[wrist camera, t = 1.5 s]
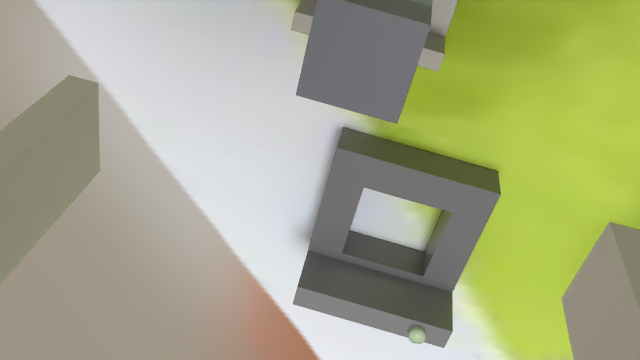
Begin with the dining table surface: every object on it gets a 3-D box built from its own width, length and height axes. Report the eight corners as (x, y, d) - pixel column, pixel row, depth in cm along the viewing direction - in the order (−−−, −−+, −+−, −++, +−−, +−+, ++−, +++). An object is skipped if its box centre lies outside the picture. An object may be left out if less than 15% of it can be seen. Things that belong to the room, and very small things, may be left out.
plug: (359, -78, 31) (318, -7, 21) (436, -57, 31) (430, 25, 21) (341, -2, 33) (296, 95, 23) (412, 18, 33) (397, 123, 23)
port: (343, 127, 38) (325, 186, 33) (498, 171, 38) (506, 238, 33) (310, 244, 44) (290, 310, 38) (444, 283, 44) (443, 355, 38)
